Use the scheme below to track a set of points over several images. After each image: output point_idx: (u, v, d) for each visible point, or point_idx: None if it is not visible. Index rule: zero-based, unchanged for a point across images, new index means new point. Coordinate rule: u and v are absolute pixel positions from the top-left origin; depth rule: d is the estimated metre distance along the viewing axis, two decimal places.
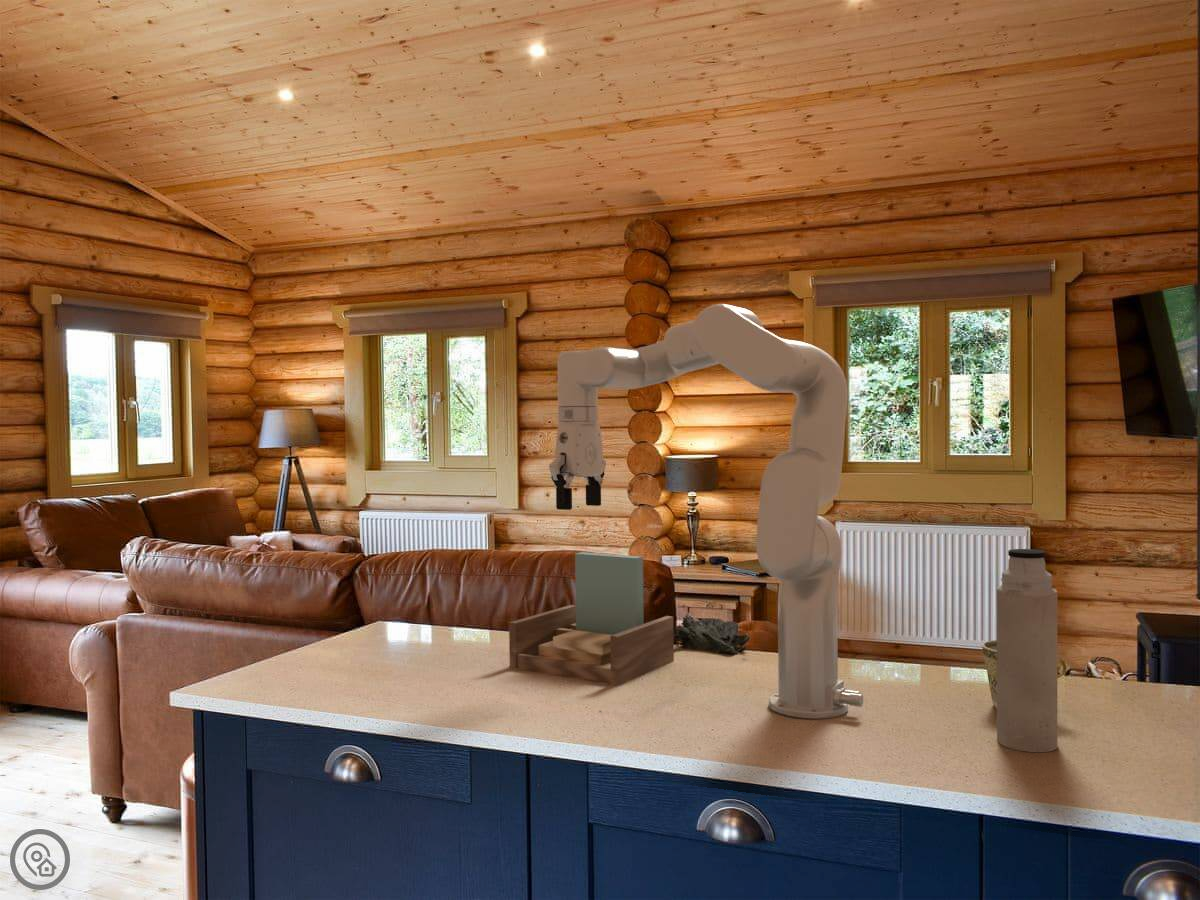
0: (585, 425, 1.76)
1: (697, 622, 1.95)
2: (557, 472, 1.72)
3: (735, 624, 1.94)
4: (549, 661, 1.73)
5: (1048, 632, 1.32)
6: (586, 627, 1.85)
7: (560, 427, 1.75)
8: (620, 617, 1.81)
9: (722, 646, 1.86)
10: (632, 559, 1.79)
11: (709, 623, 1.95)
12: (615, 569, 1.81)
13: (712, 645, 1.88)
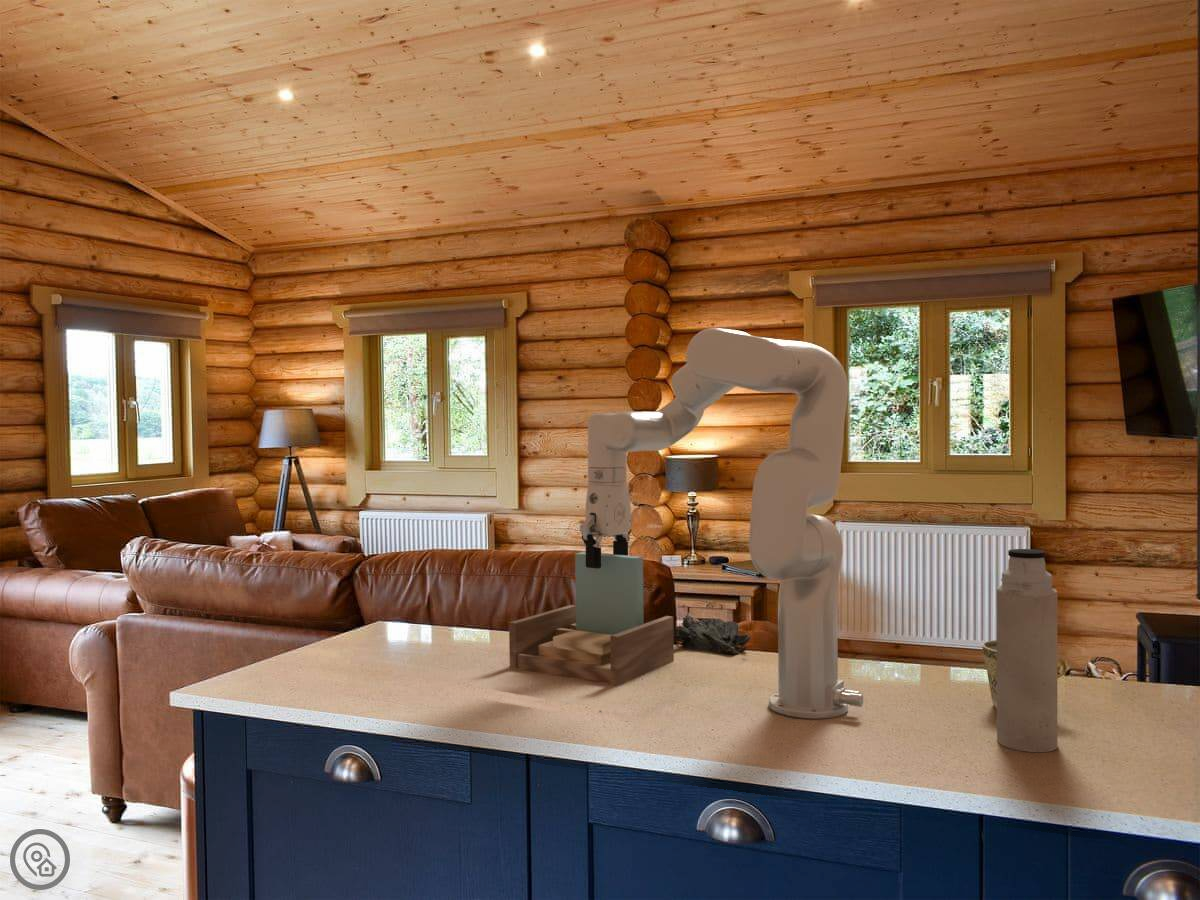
0: (614, 486, 1.81)
1: (697, 622, 1.95)
2: (587, 533, 1.77)
3: (735, 624, 1.94)
4: (549, 661, 1.73)
5: (1048, 632, 1.32)
6: (586, 627, 1.85)
7: (590, 488, 1.80)
8: (620, 617, 1.81)
9: (722, 646, 1.86)
10: (632, 559, 1.79)
11: (709, 623, 1.95)
12: (615, 569, 1.81)
13: (712, 645, 1.88)
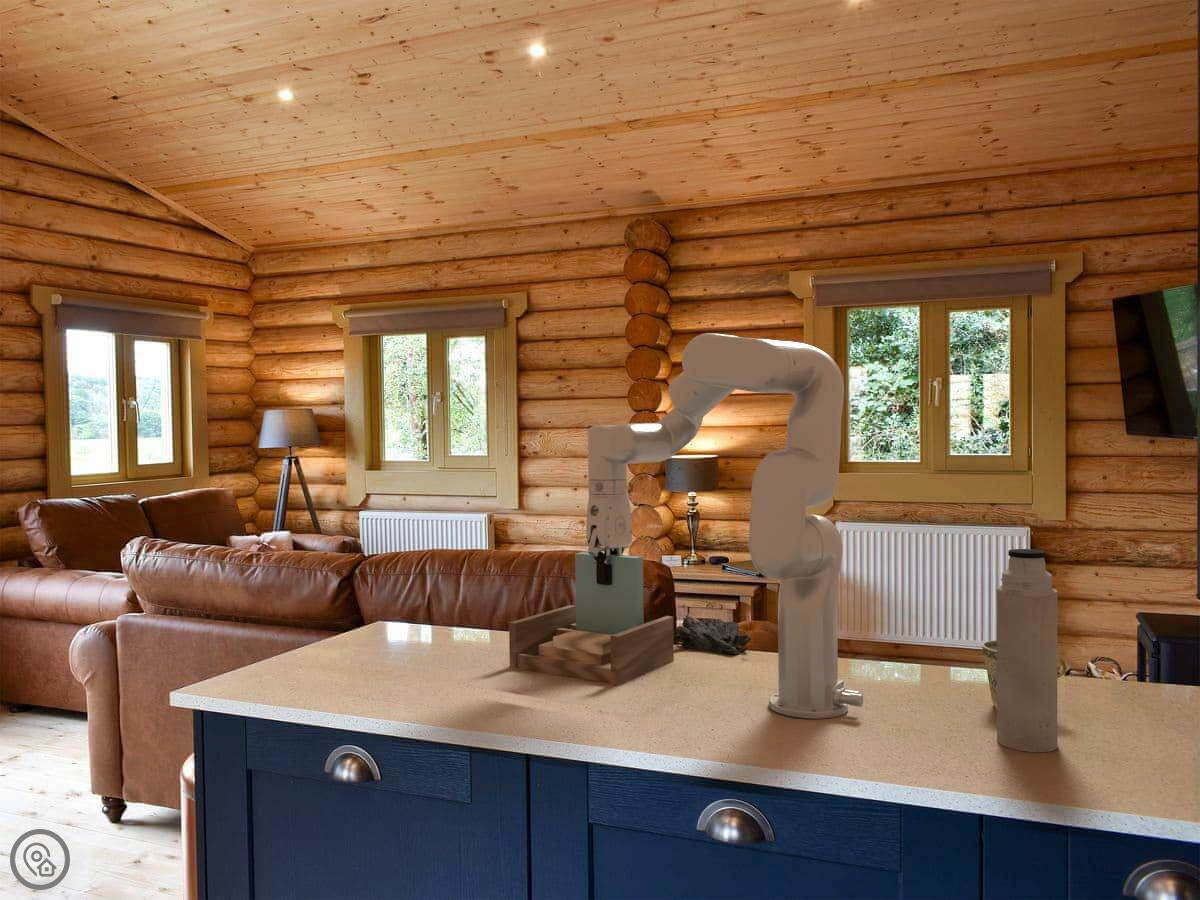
0: (615, 498, 1.81)
1: (697, 623, 1.95)
2: (597, 553, 1.79)
3: (736, 624, 1.93)
4: (549, 661, 1.73)
5: (1048, 632, 1.32)
6: (586, 627, 1.85)
7: (591, 500, 1.80)
8: (620, 617, 1.81)
9: (723, 646, 1.86)
10: (632, 559, 1.79)
11: (709, 623, 1.95)
12: (615, 569, 1.81)
13: (713, 645, 1.88)
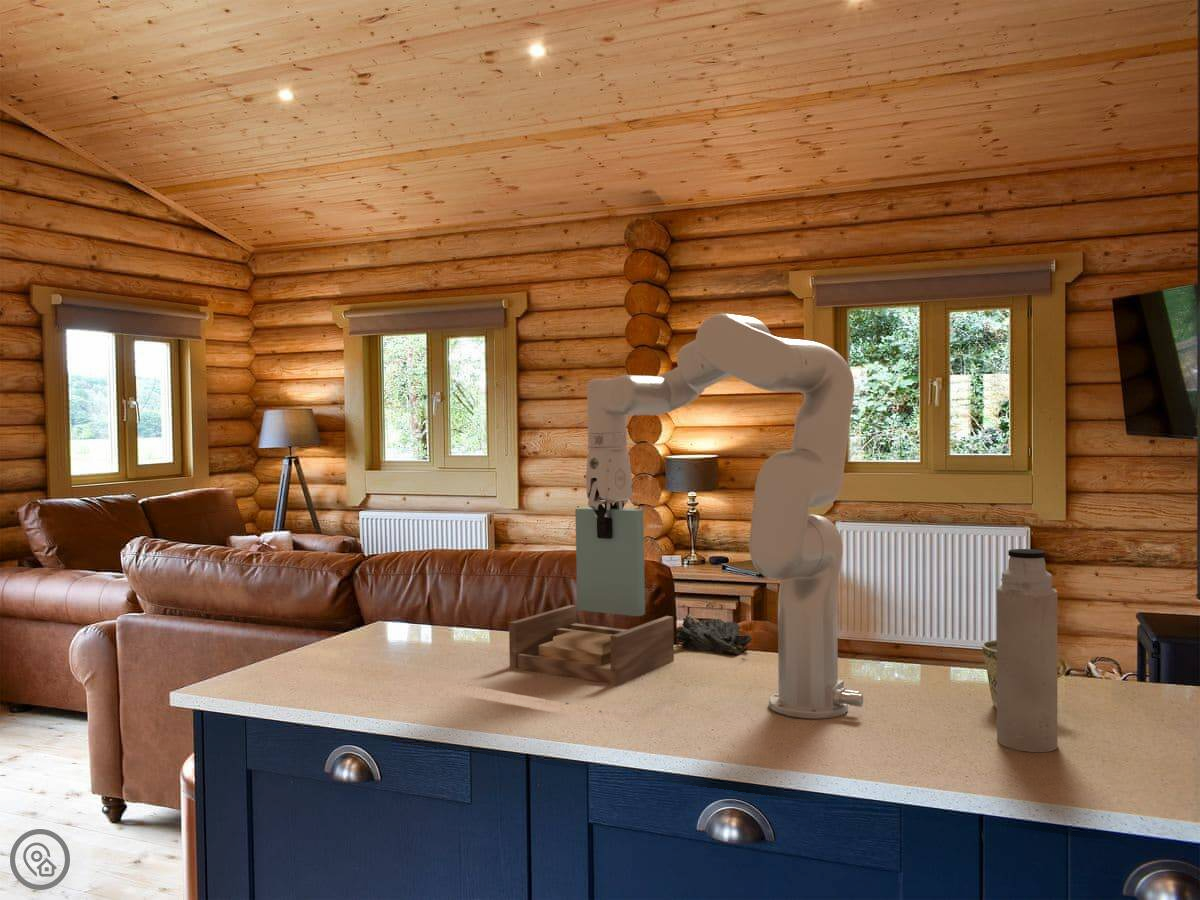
0: (615, 451, 1.80)
1: (698, 623, 1.94)
2: (597, 506, 1.79)
3: (736, 625, 1.93)
4: (549, 661, 1.73)
5: (1048, 632, 1.32)
6: (587, 582, 1.85)
7: (590, 453, 1.80)
8: (620, 571, 1.80)
9: (724, 646, 1.86)
10: (632, 512, 1.79)
11: (710, 624, 1.94)
12: (615, 522, 1.81)
13: (714, 645, 1.88)
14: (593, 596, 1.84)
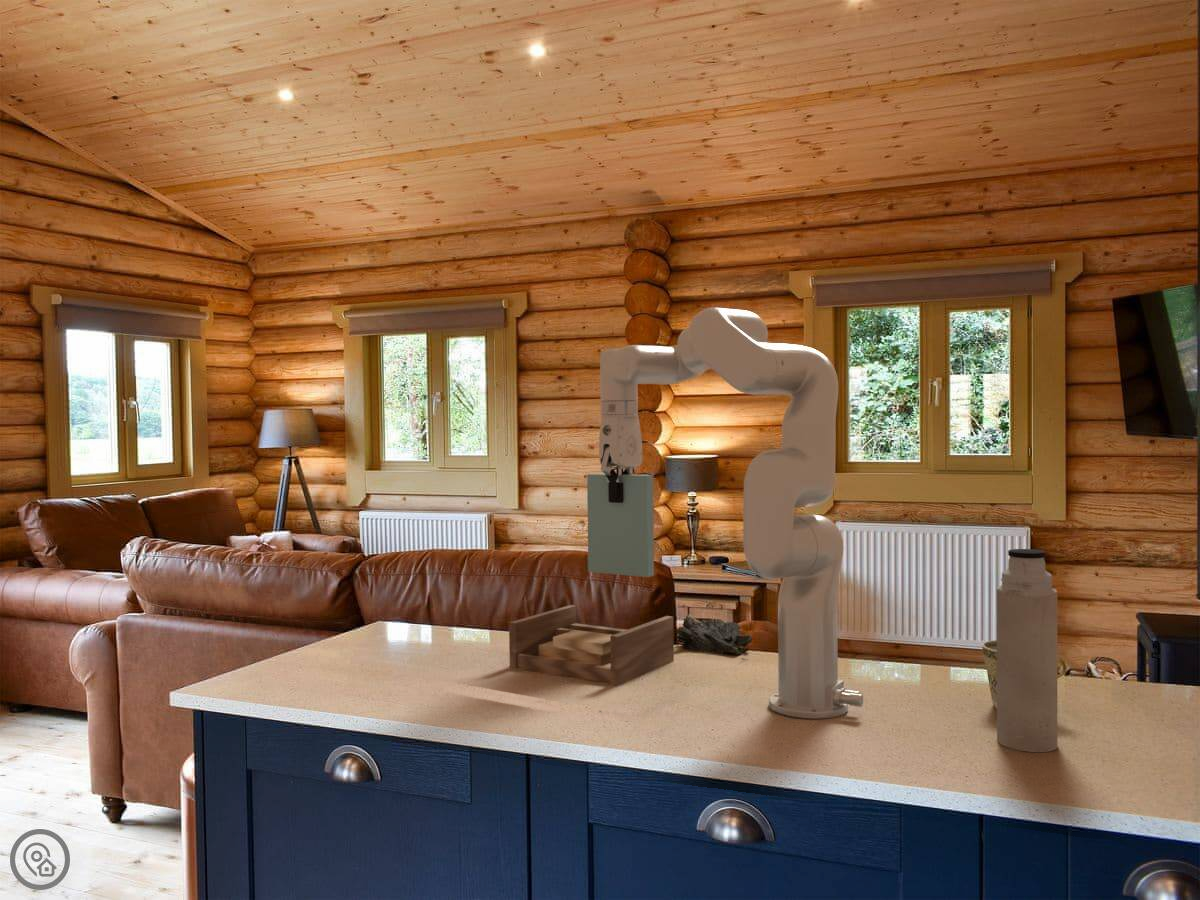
0: (627, 418, 1.88)
1: (698, 623, 1.94)
2: (609, 471, 1.86)
3: (736, 625, 1.93)
4: (549, 661, 1.73)
5: (1048, 632, 1.32)
6: (597, 544, 1.92)
7: (603, 420, 1.87)
8: (631, 534, 1.88)
9: (725, 647, 1.85)
10: (643, 477, 1.86)
11: (710, 624, 1.94)
12: (626, 487, 1.88)
13: (715, 646, 1.87)
14: (603, 558, 1.92)
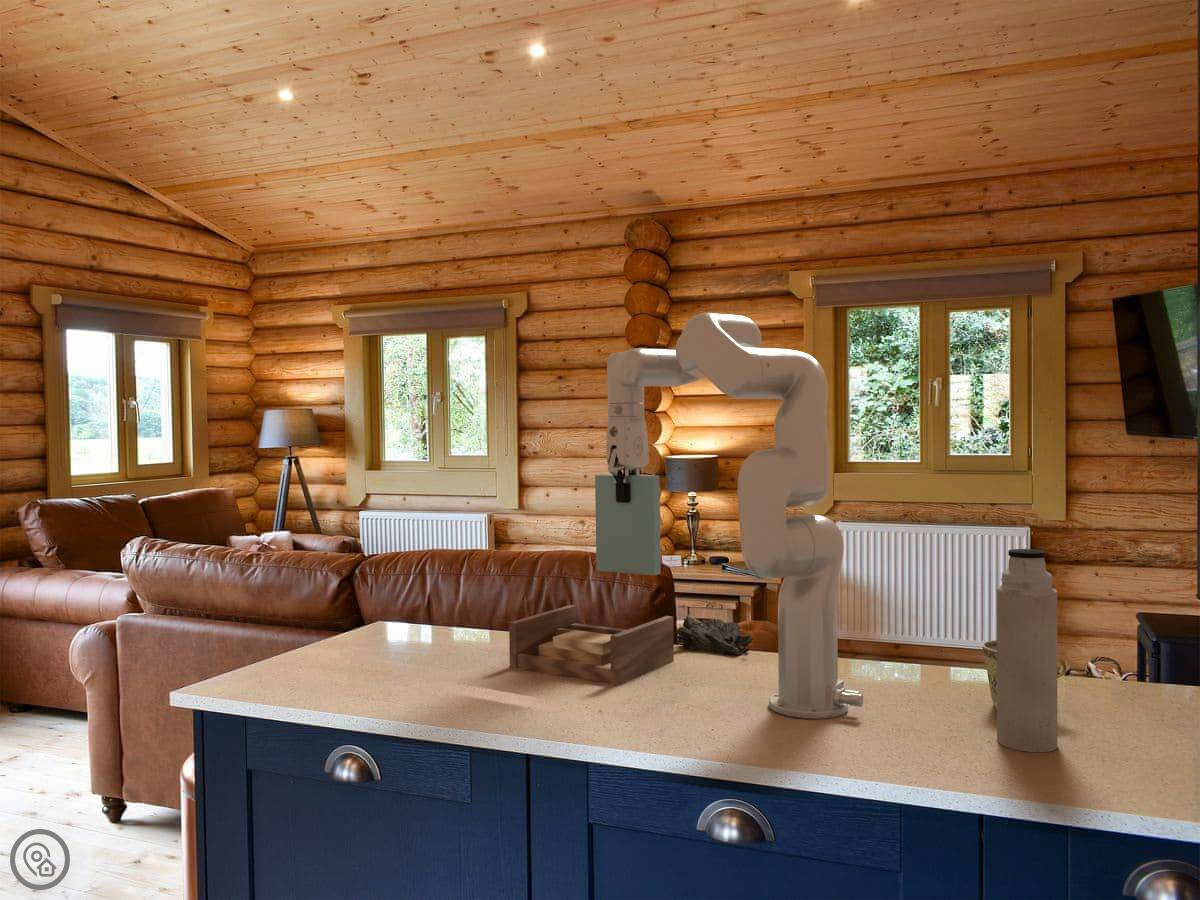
0: (633, 420, 1.92)
1: (698, 623, 1.94)
2: (616, 471, 1.90)
3: (737, 625, 1.93)
4: (549, 661, 1.73)
5: (1048, 632, 1.32)
6: (605, 544, 1.97)
7: (610, 422, 1.91)
8: (638, 533, 1.92)
9: (725, 647, 1.85)
10: (649, 477, 1.90)
11: (710, 624, 1.94)
12: (633, 487, 1.93)
13: (715, 646, 1.87)
14: (611, 557, 1.96)
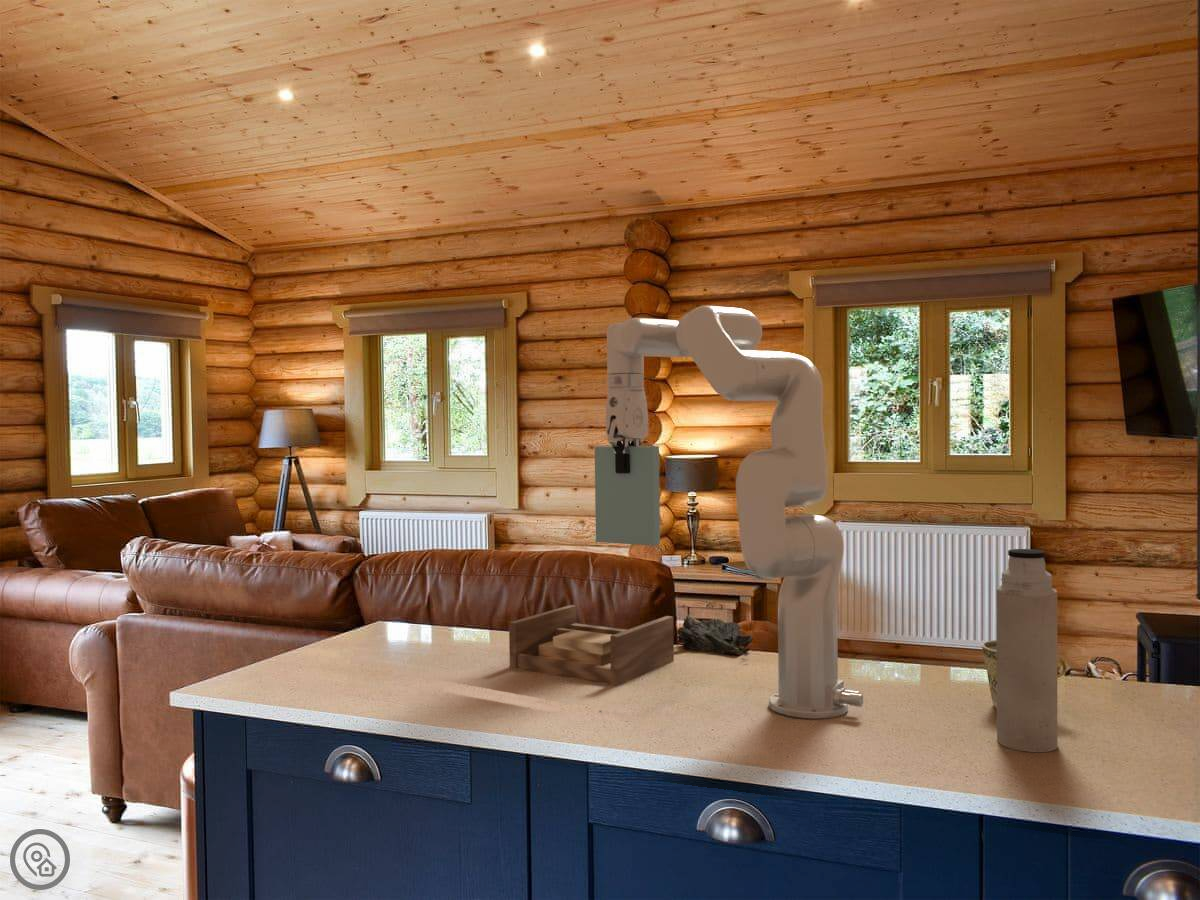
0: (633, 391, 1.92)
1: (698, 623, 1.94)
2: (616, 442, 1.90)
3: (737, 625, 1.93)
4: (549, 661, 1.73)
5: (1048, 632, 1.32)
6: (605, 515, 1.96)
7: (610, 392, 1.91)
8: (637, 503, 1.92)
9: (726, 647, 1.85)
10: (649, 447, 1.90)
11: (710, 624, 1.94)
12: (632, 458, 1.92)
13: (715, 646, 1.87)
14: (610, 528, 1.96)
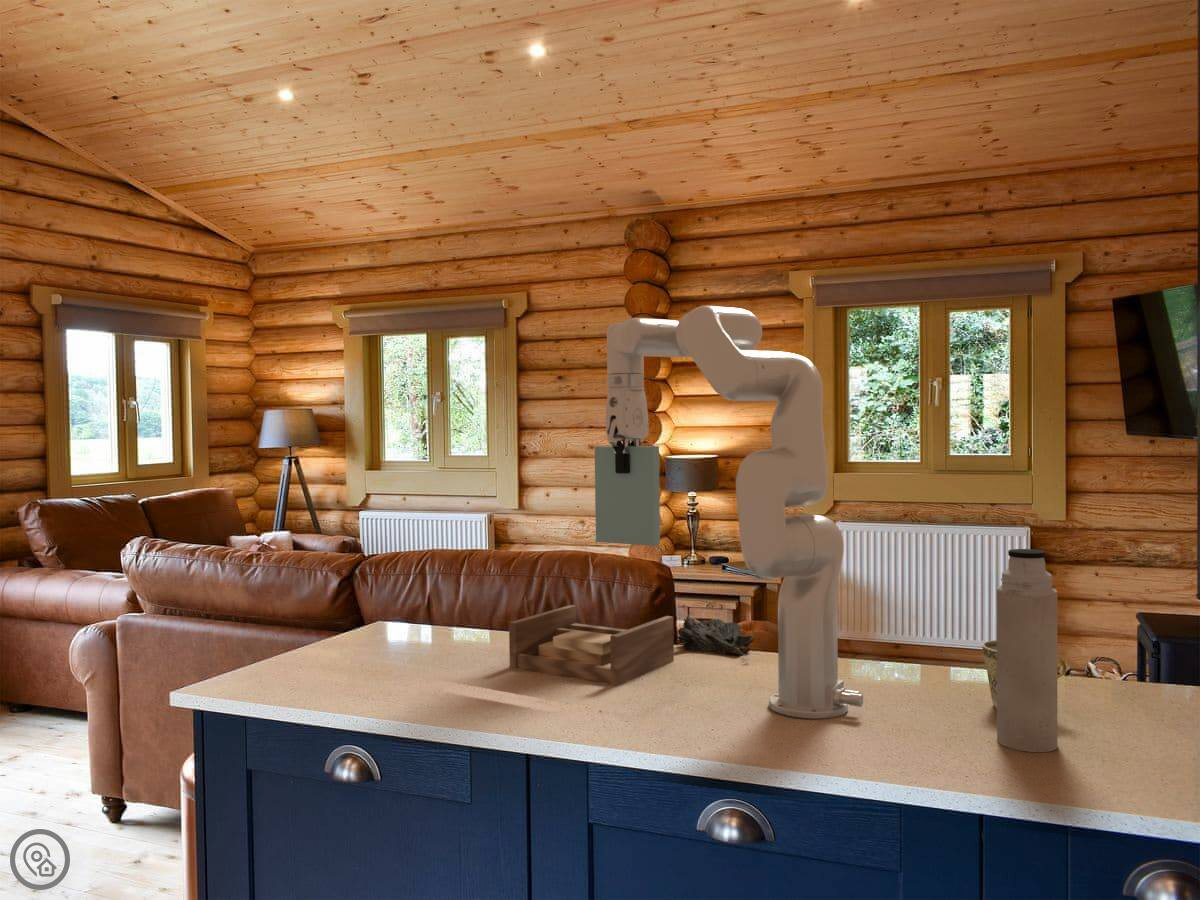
0: (633, 391, 1.92)
1: (699, 624, 1.93)
2: (616, 442, 1.90)
3: (737, 625, 1.93)
4: (549, 661, 1.73)
5: (1048, 632, 1.32)
6: (605, 515, 1.96)
7: (610, 392, 1.91)
8: (637, 503, 1.92)
9: (727, 647, 1.85)
10: (649, 447, 1.90)
11: (711, 624, 1.94)
12: (632, 458, 1.92)
13: (716, 646, 1.87)
14: (610, 528, 1.96)
